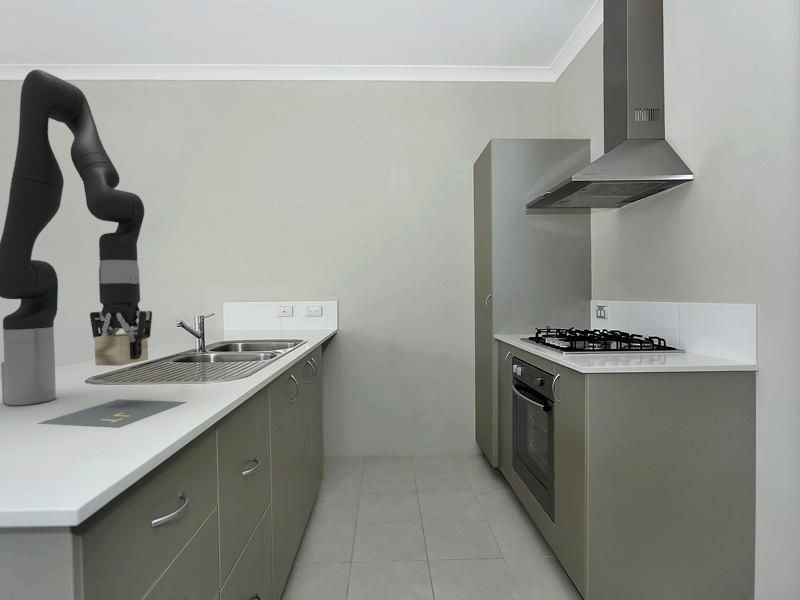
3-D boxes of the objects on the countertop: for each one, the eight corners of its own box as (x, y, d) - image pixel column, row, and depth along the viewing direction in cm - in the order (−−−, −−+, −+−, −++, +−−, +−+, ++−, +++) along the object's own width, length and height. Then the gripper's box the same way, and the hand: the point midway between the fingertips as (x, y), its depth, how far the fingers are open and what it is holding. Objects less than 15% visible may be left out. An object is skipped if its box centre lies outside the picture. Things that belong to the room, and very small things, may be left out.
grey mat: (37, 425, 86) (37, 423, 86) (118, 401, 105) (118, 399, 105) (118, 430, 82) (118, 427, 82) (187, 404, 101) (187, 401, 101)
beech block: (95, 365, 96) (94, 337, 96) (125, 359, 104) (124, 333, 104) (119, 365, 95) (118, 337, 95) (148, 359, 103) (147, 333, 103)
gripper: (76, 282, 97) (79, 361, 97) (135, 280, 94) (138, 361, 94) (105, 283, 104) (108, 356, 105) (160, 281, 101) (163, 356, 102)
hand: (122, 358), depth 99 cm, fingers closed on beech block, 6 cm apart
